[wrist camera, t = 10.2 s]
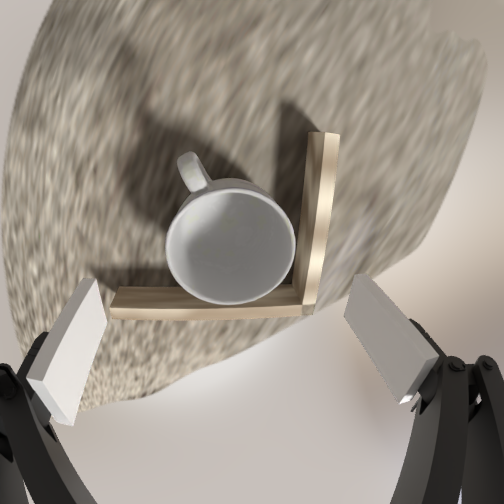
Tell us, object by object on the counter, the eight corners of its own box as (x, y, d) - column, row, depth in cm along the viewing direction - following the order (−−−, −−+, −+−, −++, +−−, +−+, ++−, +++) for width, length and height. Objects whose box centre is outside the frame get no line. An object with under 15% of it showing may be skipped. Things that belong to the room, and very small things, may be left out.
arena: (105, 130, 24) (88, 131, 20) (321, 133, 27) (339, 134, 23) (121, 297, 32) (112, 318, 28) (301, 293, 35) (312, 314, 31)
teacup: (283, 253, 33) (304, 289, 25) (192, 278, 32) (189, 320, 25) (256, 131, 27) (274, 131, 19) (152, 160, 26) (132, 171, 19)
